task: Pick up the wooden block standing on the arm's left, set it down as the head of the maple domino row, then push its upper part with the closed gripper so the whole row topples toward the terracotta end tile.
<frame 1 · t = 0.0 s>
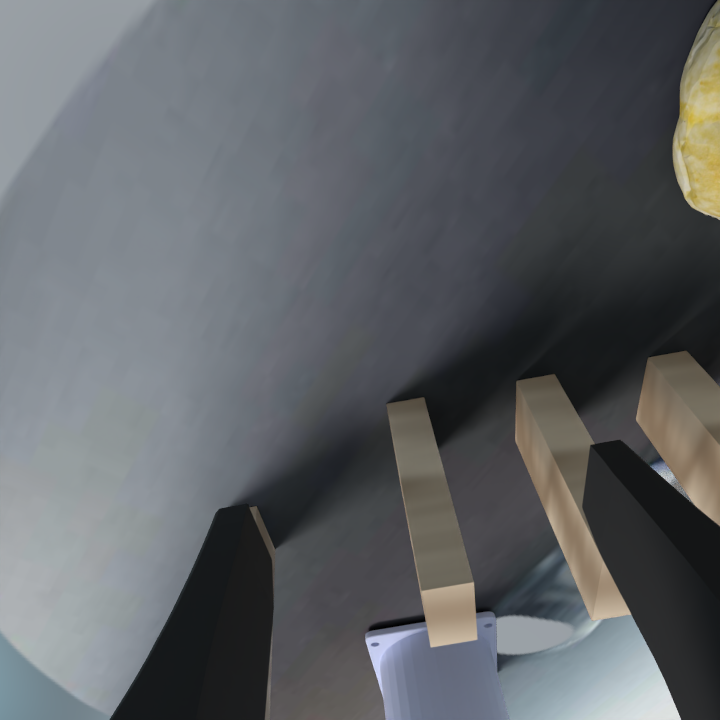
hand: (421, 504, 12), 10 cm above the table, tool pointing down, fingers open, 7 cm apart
tile 4: (660, 386, 25), on the table
wooden block: (250, 531, 28), on the table
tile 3: (534, 408, 25), on the table
tile 2: (409, 430, 25), on the table
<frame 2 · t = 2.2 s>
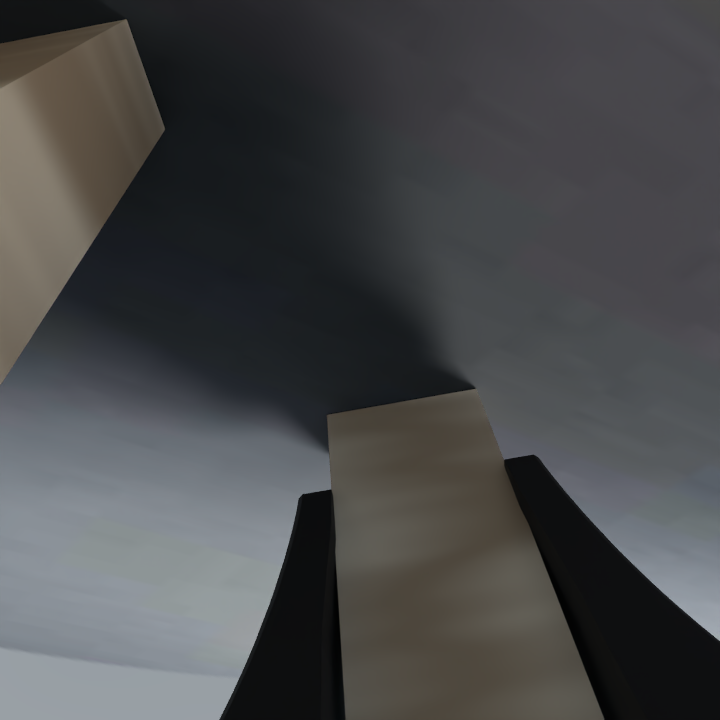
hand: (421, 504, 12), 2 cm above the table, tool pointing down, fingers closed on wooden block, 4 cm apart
wooden block: (404, 425, 14), on the table, touching gripper
tile 2: (35, 98, 9), on the table
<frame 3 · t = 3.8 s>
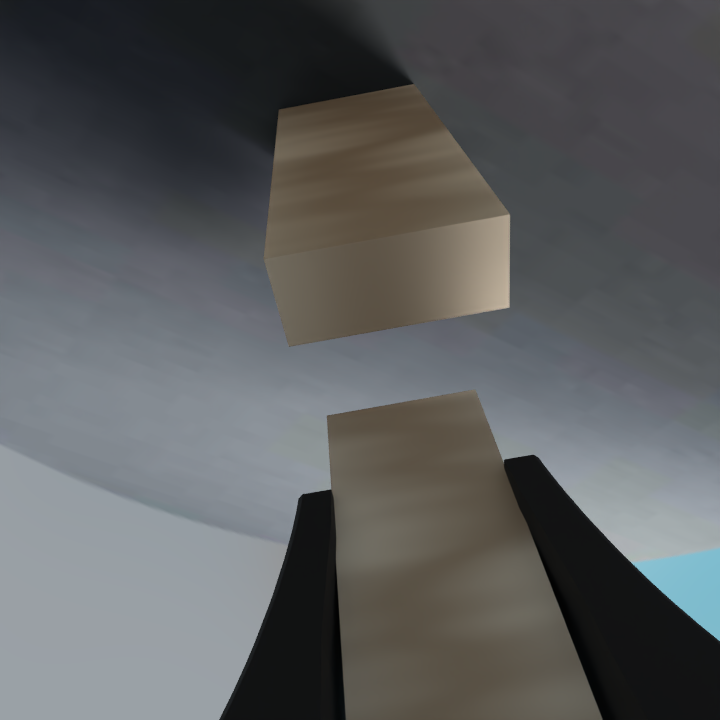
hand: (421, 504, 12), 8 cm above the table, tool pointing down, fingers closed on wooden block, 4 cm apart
wooden block: (404, 426, 14), point 6 cm above the table, touching gripper
tile 2: (351, 128, 15), on the table
when the fingers open (3 cm above the table, at t = 5.3 s): wooden block stays where it is, on the table.
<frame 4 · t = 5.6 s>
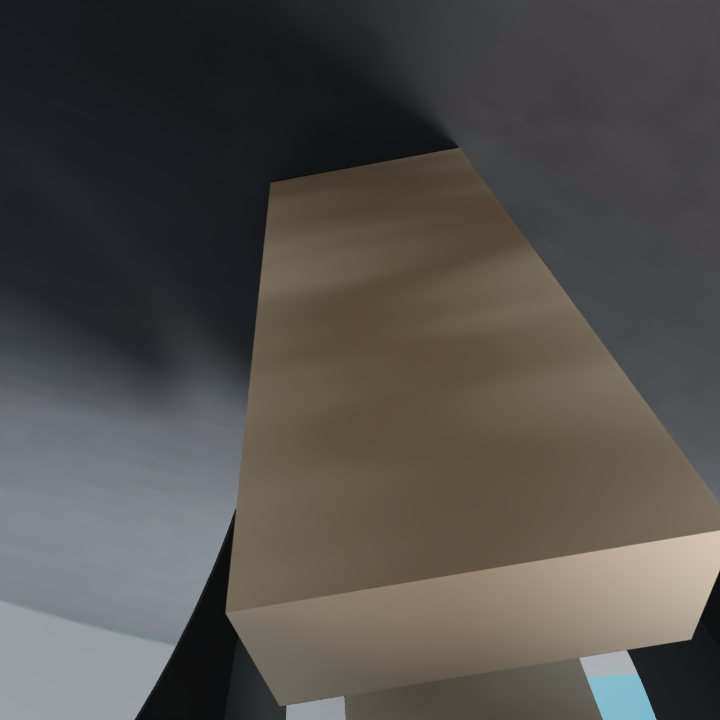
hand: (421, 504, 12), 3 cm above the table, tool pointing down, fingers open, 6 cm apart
wooden block: (401, 411, 15), on the table
tile 2: (370, 205, 11), on the table
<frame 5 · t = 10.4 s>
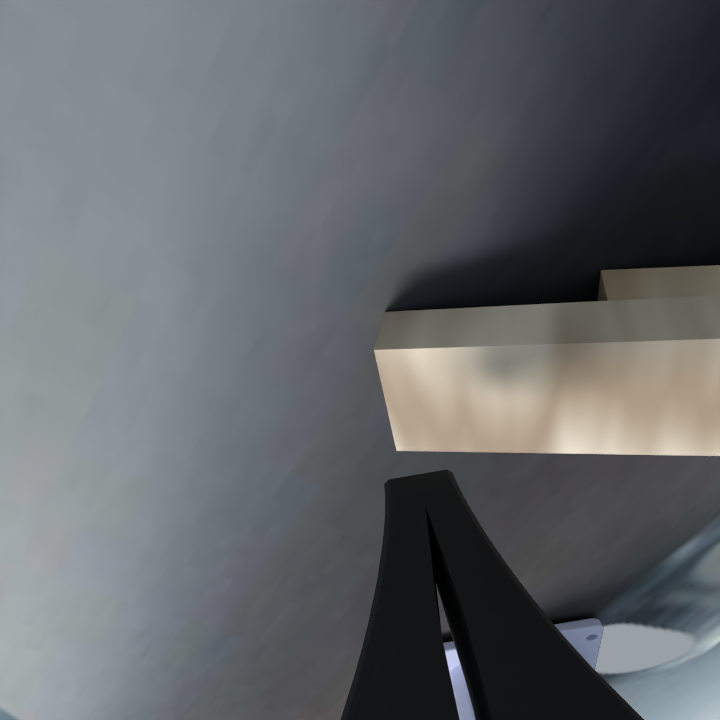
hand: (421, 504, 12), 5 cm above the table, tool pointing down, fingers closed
wooden block: (390, 383, 15), point 1 cm above the table, tilted 74°, touching tile 2
tile 2: (598, 343, 15), point 1 cm above the table, tilted 73°, touching wooden block, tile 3
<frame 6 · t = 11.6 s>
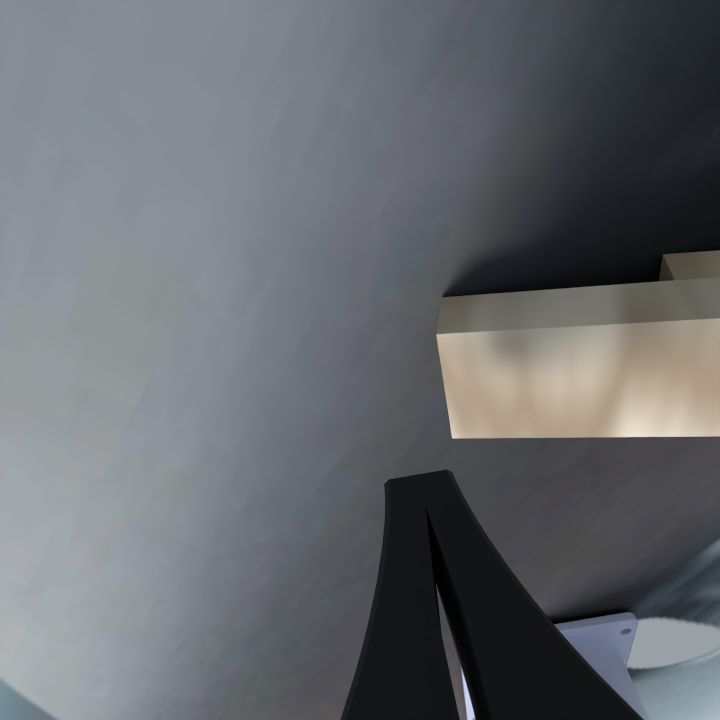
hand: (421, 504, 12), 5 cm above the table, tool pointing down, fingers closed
wooden block: (446, 370, 15), point 1 cm above the table, tilted 74°, touching tile 2
tile 2: (660, 329, 15), point 1 cm above the table, tilted 75°, touching wooden block, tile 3
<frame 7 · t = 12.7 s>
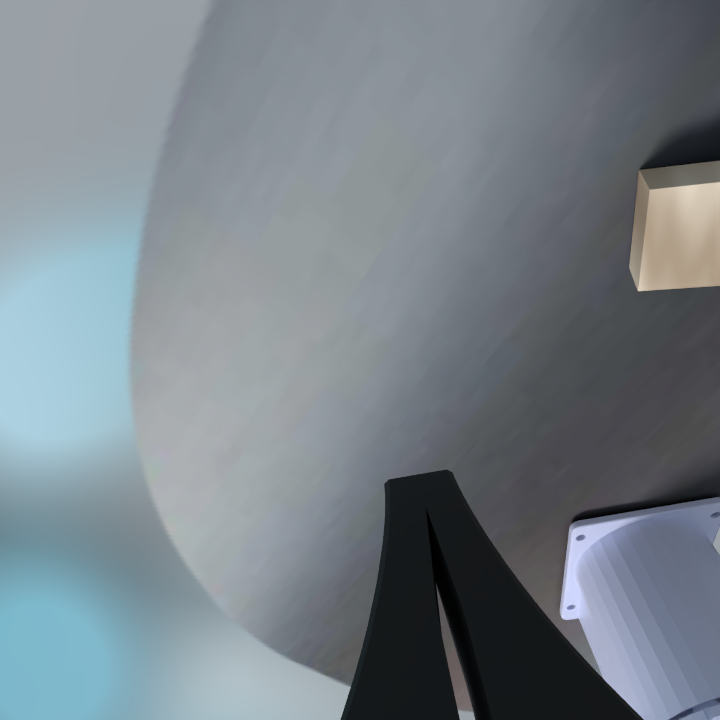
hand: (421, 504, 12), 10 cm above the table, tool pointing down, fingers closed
wooden block: (638, 232, 19), point 1 cm above the table, tilted 75°, touching tile 2
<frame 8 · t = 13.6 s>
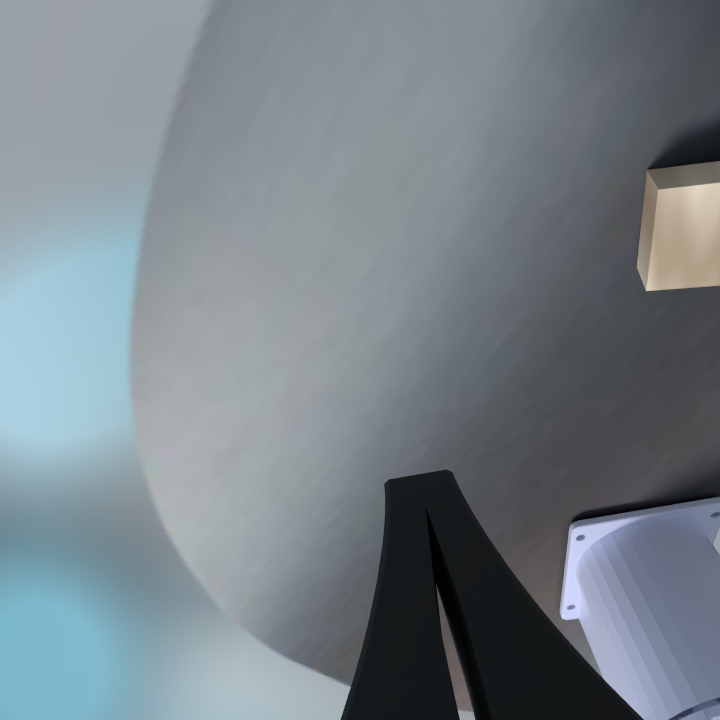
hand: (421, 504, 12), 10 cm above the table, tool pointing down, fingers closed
wooden block: (646, 231, 19), point 1 cm above the table, tilted 75°, touching tile 2
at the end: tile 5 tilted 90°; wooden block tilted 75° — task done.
